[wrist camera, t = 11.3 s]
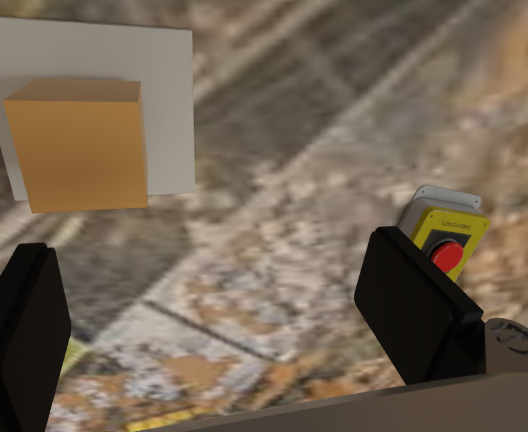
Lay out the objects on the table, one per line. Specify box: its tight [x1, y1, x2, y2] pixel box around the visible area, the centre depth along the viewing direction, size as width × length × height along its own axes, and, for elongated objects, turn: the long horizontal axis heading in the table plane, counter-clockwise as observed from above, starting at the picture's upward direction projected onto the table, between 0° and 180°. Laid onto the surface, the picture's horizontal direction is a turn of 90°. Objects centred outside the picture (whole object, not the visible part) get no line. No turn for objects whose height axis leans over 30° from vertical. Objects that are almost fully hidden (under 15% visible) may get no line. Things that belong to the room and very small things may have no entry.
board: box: [0, 16, 195, 201], centre depth 24 cm, size 12×13×9 cm
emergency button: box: [398, 185, 490, 282], centre depth 42 cm, size 9×4×15 cm
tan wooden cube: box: [3, 78, 148, 213], centre depth 22 cm, size 6×6×6 cm
